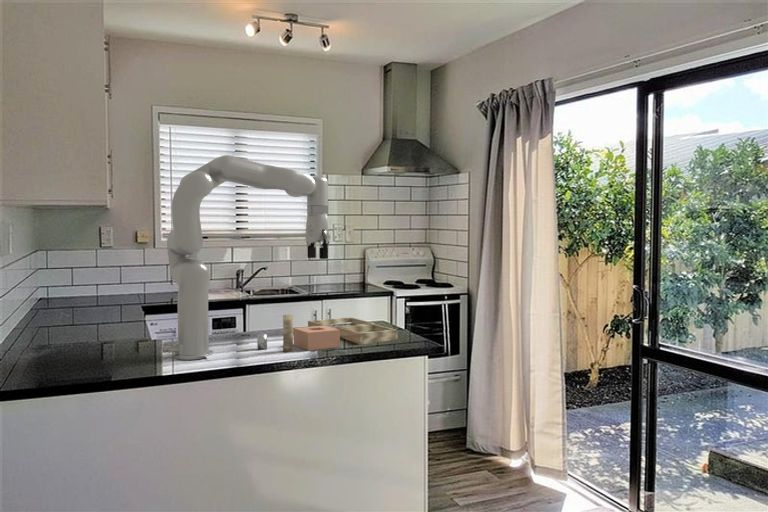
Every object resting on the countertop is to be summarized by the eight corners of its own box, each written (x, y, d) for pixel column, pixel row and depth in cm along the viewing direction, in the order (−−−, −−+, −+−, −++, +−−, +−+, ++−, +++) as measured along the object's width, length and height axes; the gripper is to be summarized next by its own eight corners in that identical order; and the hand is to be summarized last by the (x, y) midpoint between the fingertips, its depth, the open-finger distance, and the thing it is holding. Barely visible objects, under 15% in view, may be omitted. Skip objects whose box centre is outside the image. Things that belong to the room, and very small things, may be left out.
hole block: (308, 350, 202) (308, 332, 202) (293, 345, 212) (293, 328, 212) (339, 347, 208) (339, 329, 208) (324, 341, 218) (324, 325, 218)
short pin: (259, 350, 202) (259, 335, 202) (256, 348, 205) (255, 334, 205) (268, 349, 204) (268, 334, 204) (264, 347, 207) (264, 333, 207)
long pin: (285, 352, 199) (285, 316, 198) (281, 350, 202) (281, 315, 201) (294, 351, 201) (294, 315, 200) (290, 349, 203) (290, 314, 203)
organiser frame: (354, 345, 211) (354, 334, 211) (308, 330, 243) (307, 321, 243) (401, 340, 222) (401, 329, 222) (351, 326, 254) (351, 317, 254)
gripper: (298, 211, 224) (298, 257, 224) (319, 210, 209) (319, 259, 210) (316, 212, 228) (316, 257, 228) (338, 210, 213) (338, 259, 214)
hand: (317, 258), depth 219 cm, fingers open, 9 cm apart
